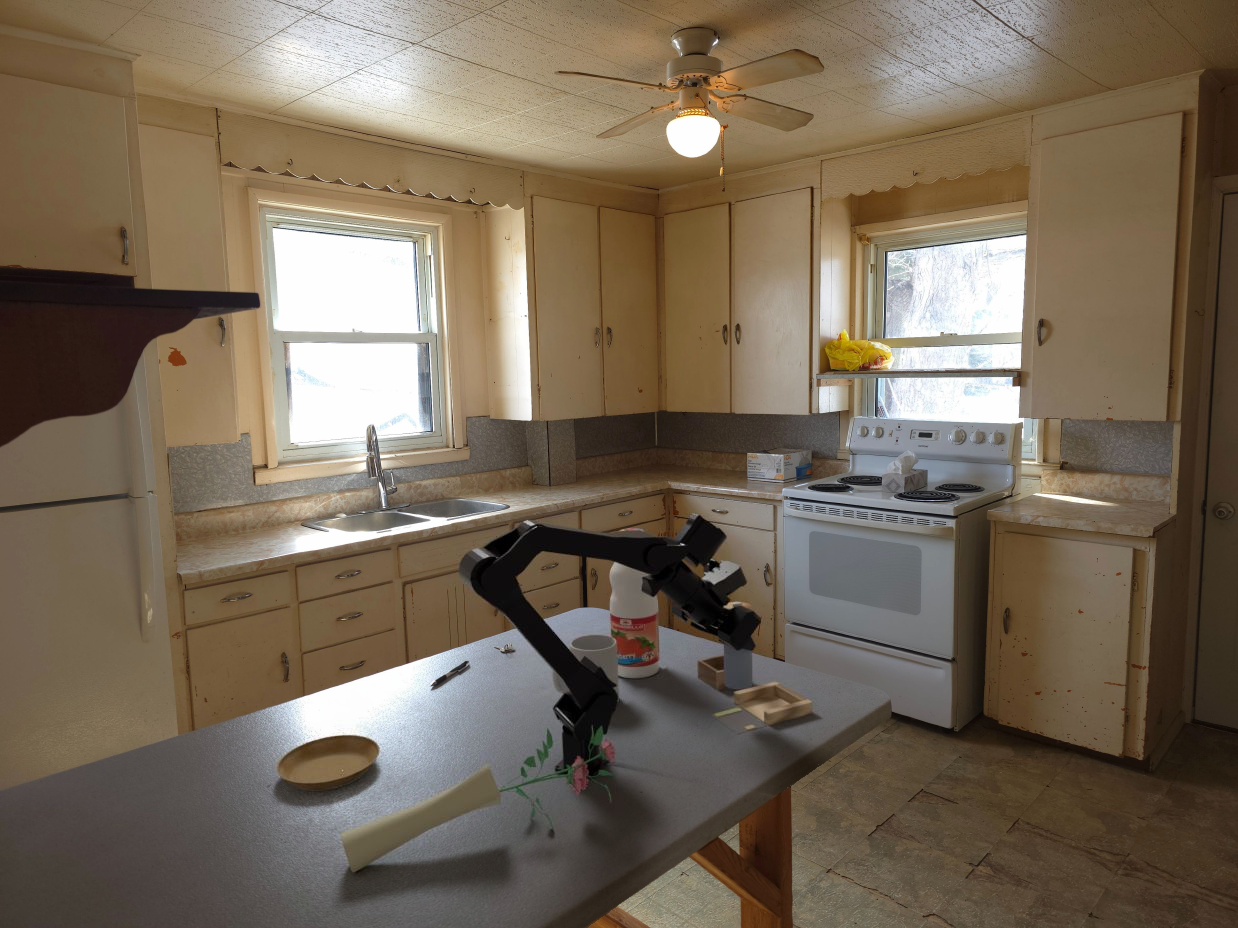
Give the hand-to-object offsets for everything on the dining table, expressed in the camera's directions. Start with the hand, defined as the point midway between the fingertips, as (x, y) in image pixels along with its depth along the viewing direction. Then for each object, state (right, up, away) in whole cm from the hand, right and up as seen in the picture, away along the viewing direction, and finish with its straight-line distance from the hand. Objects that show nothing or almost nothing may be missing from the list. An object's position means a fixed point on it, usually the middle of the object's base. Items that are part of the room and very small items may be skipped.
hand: (744, 643), depth 132 cm
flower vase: (-38, -19, -28) cm, 51 cm away
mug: (-27, -13, +11) cm, 32 cm away
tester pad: (-1, -14, +1) cm, 14 cm away
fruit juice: (-17, -11, +26) cm, 33 cm away
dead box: (-1, -11, +18) cm, 21 cm away
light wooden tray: (+6, -13, +5) cm, 15 cm away
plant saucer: (-65, -18, -10) cm, 68 cm away
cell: (-1, -7, 0) cm, 7 cm away
